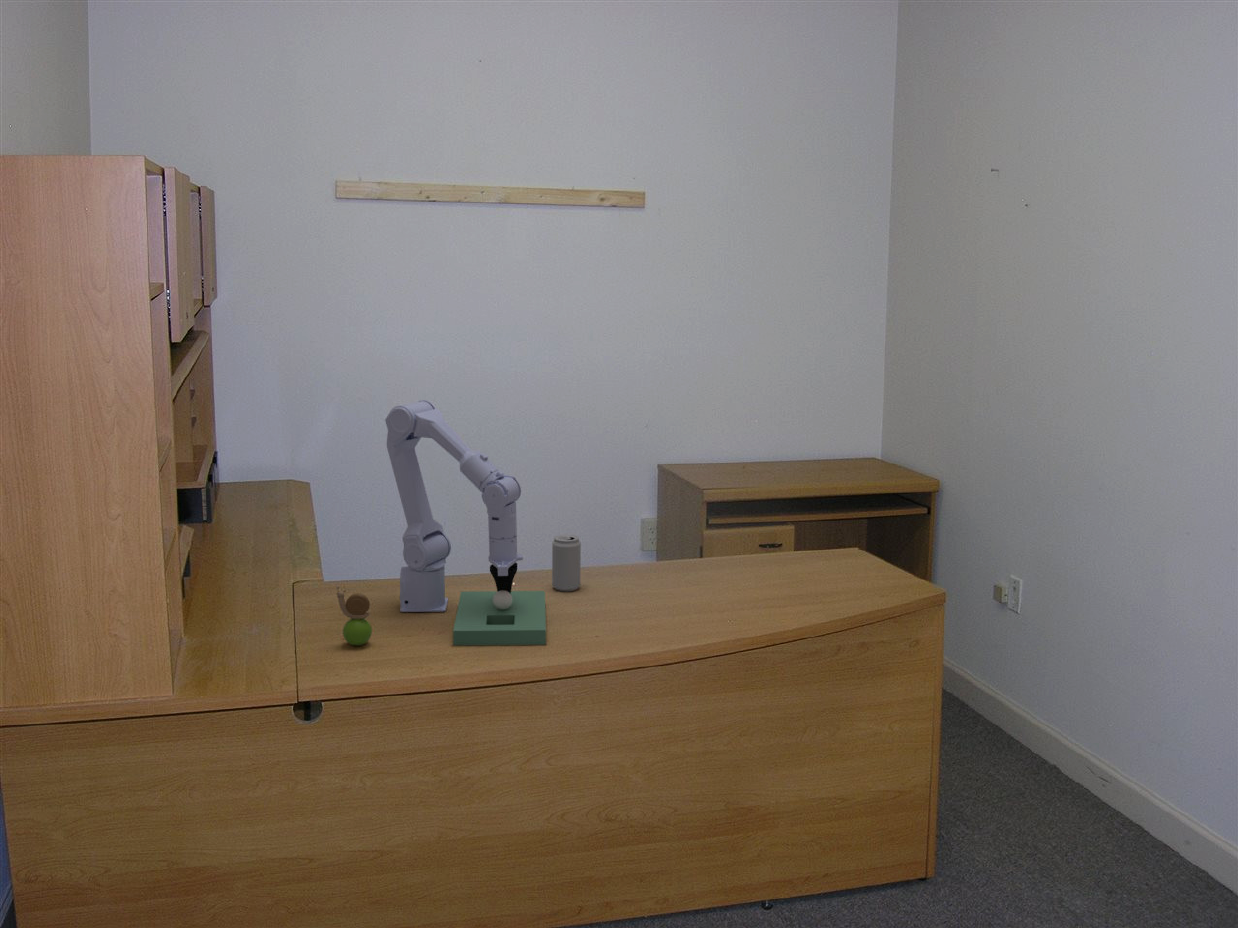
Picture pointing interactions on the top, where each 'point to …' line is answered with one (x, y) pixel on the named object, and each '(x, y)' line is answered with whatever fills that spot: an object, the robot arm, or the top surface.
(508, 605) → the ball
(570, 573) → the beverage can
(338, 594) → the snail figurine
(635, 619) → the top surface
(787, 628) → the top surface
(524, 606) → the putting board
